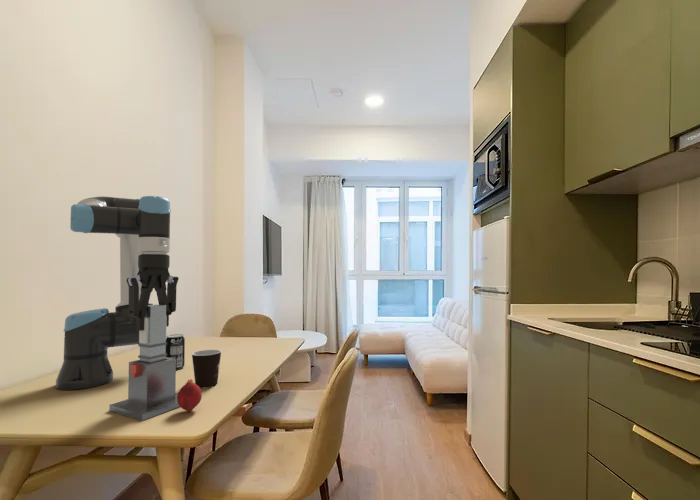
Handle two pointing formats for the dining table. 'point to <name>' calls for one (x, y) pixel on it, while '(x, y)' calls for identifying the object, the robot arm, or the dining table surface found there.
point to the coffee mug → (206, 367)
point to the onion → (189, 396)
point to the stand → (149, 390)
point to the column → (154, 336)
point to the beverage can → (176, 349)
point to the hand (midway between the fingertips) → (152, 340)
